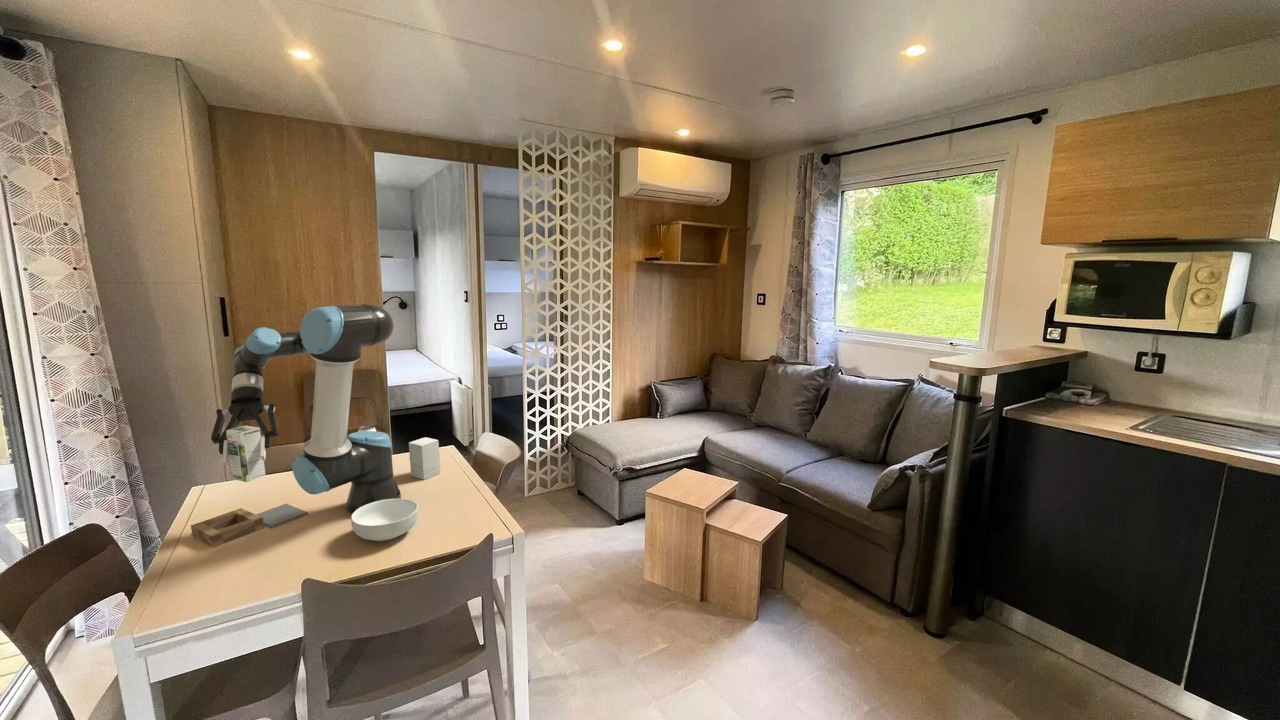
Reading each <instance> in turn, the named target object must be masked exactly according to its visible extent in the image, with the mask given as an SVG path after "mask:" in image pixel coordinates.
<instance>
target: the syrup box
mask: <svg viewBox="0 0 1280 720" xmlns="http://www.w3.org/2000/svg"><path fill="white" fill-rule="evenodd" d="M226 434H227V441H228V449H229V462H230V471H231V477H232V478H231V479H232V480H233V481H239V482H242V483H243V482H244V483H248V482H250V481H252V480H253V481H254V480H256V479H258V478H262V477H263V476H266V469H265V468H266V467H265V460H264V461H262V459H261V457H260V453H261V436H262V435H261V429H260V428H259V426H258V427H257V426H249V425H241V426H237V427H236V428H232V429H230V430H227V431H226Z"/></svg>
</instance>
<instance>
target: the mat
mask: <svg viewBox="0 0 1280 720" xmlns="http://www.w3.org/2000/svg"><path fill="white" fill-rule="evenodd" d="M255 514H256V515H258V516H260V517H262V518H263V522H264V527H265V526H266V527H268V528H270V529H274V528H278V527H279V526H281V525H284V524H288V523H290V522H293V521H295V520H298V519H300V518H302V517H304V516H308V515H309V511H307V510H303V509H301V508H299V507H296V506H293V505H290V504H288V503H284V504H281V505H279V506H275V507H273V508H270V509H267V510H264V511H262V512H259V513H255Z"/></svg>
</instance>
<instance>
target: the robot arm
mask: <svg viewBox="0 0 1280 720" xmlns="http://www.w3.org/2000/svg"><path fill="white" fill-rule="evenodd" d="M393 331H394V320H393V318H392V316H391V314H390V313H389V312H388V311H387V310H386V309H384V308H383V307H381V306H379V305H376V304H372V303H371V304H369V303H368V304H367V303H363V304H349V305H347V304H346V305H326V306H321V307H314V308H312V309H310V310H309V311H308V312H307V313H306V314H305V315H304V317H303V319H302V321H301V324H300V330H292V331H283V332H281V331H280V332H279V331H277V330H275V329H273V328H268V327H265V326H263V327H259V328H256V329H254V330H253V331H252V332H251V334H250V335H249V336H248V337H247V338H246V341H245V343H244V344H243V345H241V346H238V347H237V348H236V349H235V350H234V353H233V354H234V355H233V356H232V363H233V364H232V381H231V395H230V405H229V407H228V408H227V409H221V408H217V409H216V411H215V412H216V420H215V423H214V426H213V429H212V432H211V437H210V440H211V441H212V443H213V444H214V445H215V444H216V445H218V452H219V454H220V455H222V463H223V465H224V467H228V466H230V465H229V462H230V456H229V449H228V441H227V434H226V431H227V430H230V429H232V428H236V427H238V425H240V423H241V422H245V421H253V420H254V421H255V422H256V424H257V426H258V427H259V428H260V432H261V433H262V434H263V435H261V453H260V457H261V459H262V461H264V462H265V461H266V455H267V453H266V452H267V449H270V448H271V439H272V438H273V437H278V436H279V431H278V425H277V421H276V417H275V416H276V415H275V413H276V410H277V409H276V407H275V404H274V403H270V404H268V405H267V404H266V405H265V404H264V372H265V368H266V366H267V365H268V363H269V362H270V360H272V359H275V358H283V357H290V356H296V355H305V354H309V355H310V357H311V358H312V359H313V360H315V361H316V363H315V374H314V375H315V376H314V389H313V390H314V391H313V404H312V405H313V406H312V420H311V430H310V431H311V433H310V439H309V440H307V441H306V442H305V443H304V445H303V454H302V455H297V456H296V457H295V458H294V459H293V460H292V465H291V466H292V467H291V468H292V473H293V477H294V479H295V480H296V482H297V484H298V486H299V487H300V488H301V489H302V490H303V491H304V492H306V493H308V494H309V495H320V494H321V493H325V492H326V493H328V492H329V491H330V490H333V489H336V488H339V487H341V486H344V485H346V484H349V483H351V485H350V489H349V491H348V495H347V499H346V509H347V512H348V513H350V514H351V515H352V514H353V513H354V512H355V511H356V510H357V509H358V508H360V507H362V506H364V505H366V504H369V503H372V502H376V501H380V500H386V499H402V492H401V490H400V488H399V486H398V484H397V482H396V480H395V478H394V469H393V468H394V467H393V456H392V446H393V445H392V443H391V441H392V440H391V438H390V435H389V434H388V433H385V432H383V431H377V430H376V431H363V432H358V431H356V432H352V433H349V434H348V426H349V416H350V404H351V394H352V384H353V382H352V381H353V374H354V373H353V372H354V364H355V363H356V362H359V360H360V359H361V354H362V348H367V347H369V348H370V347H373V346H374V347H375V346H377V345H381V344H382V343H384V342H386V341H387V340H388V339H389V338H390V337H391V336H392V335H393ZM263 411H265V412H266V413H267V414H268V419H269V423H270V428H271V430H270V431H269V430H268V428H267V427H266V425H265V423H264V422H263V420H262V419H261V417H260V415H261V414H262V413H263ZM228 414H230V415H231V418H230V420H229V422H228V423H227V425H226V427H225V428H224V430H223V427H224V425H225V422H226V418H227V417H228Z"/></svg>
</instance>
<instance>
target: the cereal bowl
mask: <svg viewBox="0 0 1280 720" xmlns="http://www.w3.org/2000/svg"><path fill="white" fill-rule="evenodd" d="M418 517H419V506H418V504H417V502H416V501H414V500H412V499H408V498H401V499H386V500H380V501H376V502H372V503H369V504H366V505H364V506H362V507H360V508H358V509H357V510H356V511H355V512H354V513H353V514H352V513H351V517H350V522H351V523H350V524H351V527H352V530H353V532H354V533H355V534H356V535H357V536H359V537H360V538H362V539H364V540H368V541H369V540H370V541H376V542H387V541H390V540H394V539H395V538H397V537H399V536H401V535H403V534H405V533H407V532H408V531H410V530H411V529H412V528H413V527H414V525H415V524H416V522H417V520H418Z"/></svg>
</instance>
